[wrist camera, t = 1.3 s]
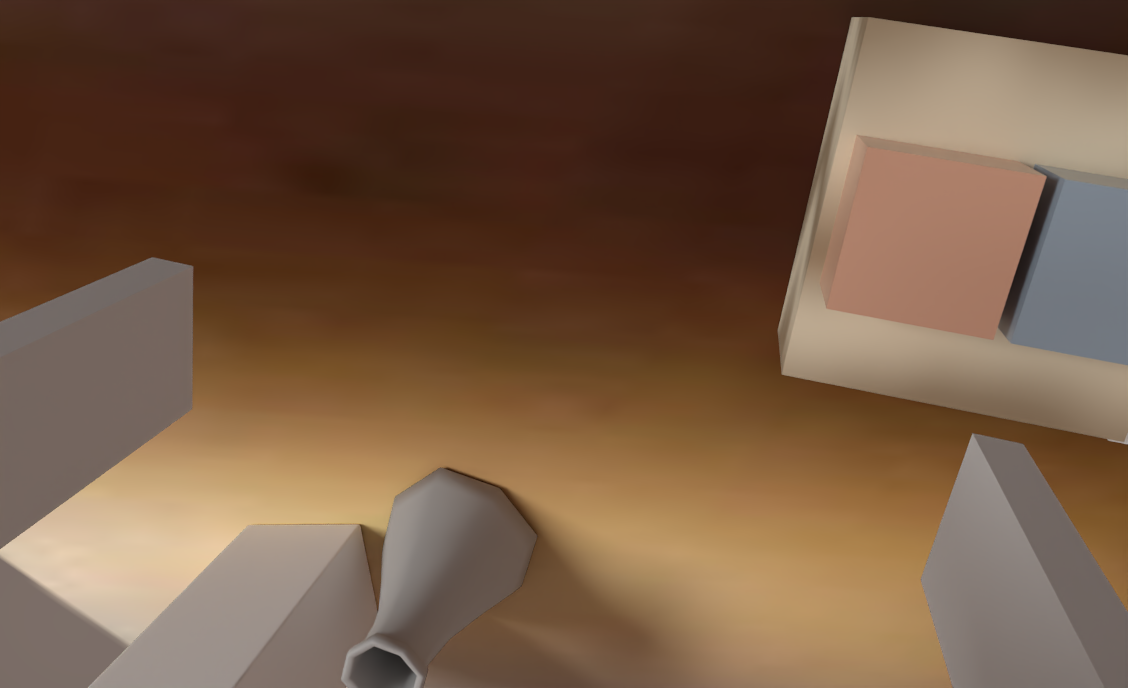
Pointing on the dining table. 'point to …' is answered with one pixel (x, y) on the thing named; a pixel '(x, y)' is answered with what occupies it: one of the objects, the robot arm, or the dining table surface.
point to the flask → (438, 575)
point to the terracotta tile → (929, 235)
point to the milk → (260, 615)
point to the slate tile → (1073, 269)
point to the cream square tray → (979, 126)
